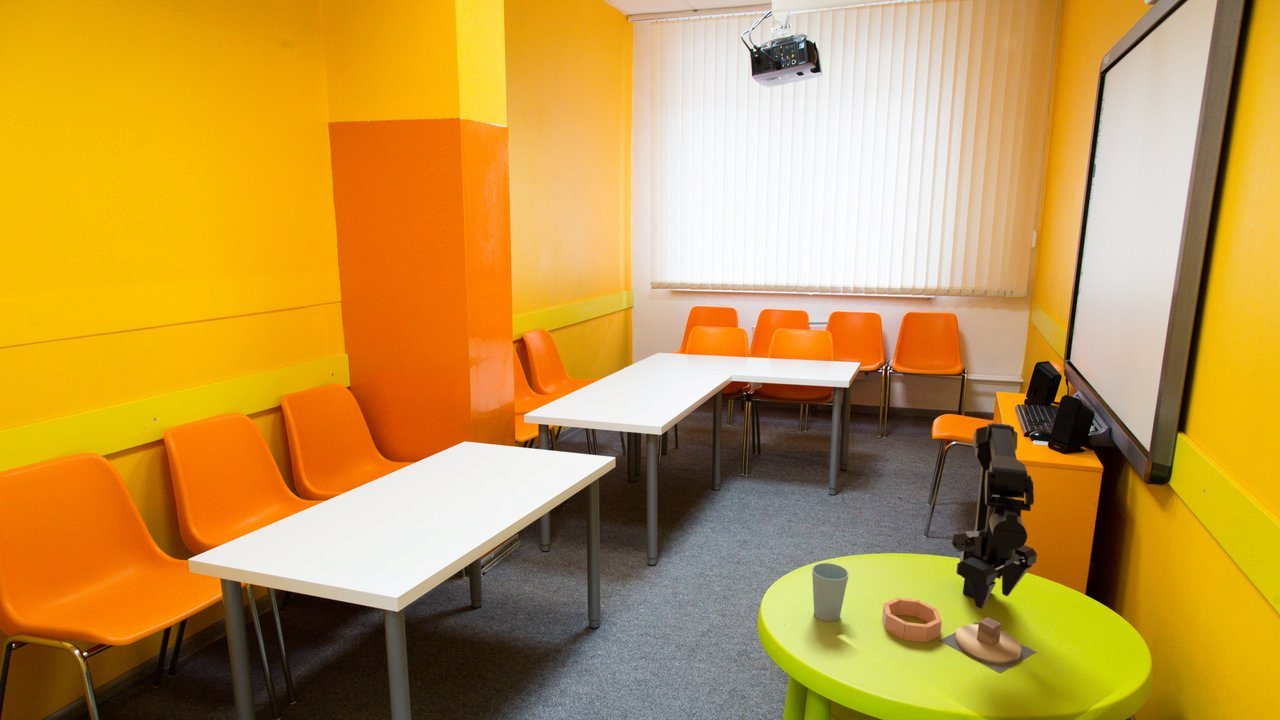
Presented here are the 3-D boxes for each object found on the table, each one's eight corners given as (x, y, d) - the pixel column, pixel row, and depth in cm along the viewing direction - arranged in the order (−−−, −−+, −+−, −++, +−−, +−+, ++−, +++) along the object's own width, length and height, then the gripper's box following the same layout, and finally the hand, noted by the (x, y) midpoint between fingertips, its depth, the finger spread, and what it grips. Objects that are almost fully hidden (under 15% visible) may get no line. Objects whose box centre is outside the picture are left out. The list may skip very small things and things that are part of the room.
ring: (904, 612, 164) (906, 593, 164) (948, 635, 156) (951, 616, 155) (871, 626, 158) (873, 607, 158) (916, 652, 150) (918, 631, 149)
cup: (852, 620, 161) (856, 575, 159) (823, 627, 158) (827, 582, 156) (830, 603, 168) (833, 560, 166) (802, 610, 165) (805, 566, 163)
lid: (976, 623, 158) (979, 601, 157) (1032, 651, 149) (1035, 627, 148) (943, 640, 152) (945, 617, 151) (999, 670, 142) (1002, 646, 141)
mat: (975, 627, 159) (976, 621, 159) (1035, 657, 149) (1036, 651, 148) (938, 645, 152) (939, 640, 152) (999, 678, 141) (1000, 673, 141)
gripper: (989, 505, 157) (981, 573, 160) (936, 524, 147) (928, 596, 150) (1042, 523, 148) (1032, 595, 151) (989, 545, 138) (979, 622, 141)
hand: (992, 601), depth 148 cm, fingers open, 9 cm apart
